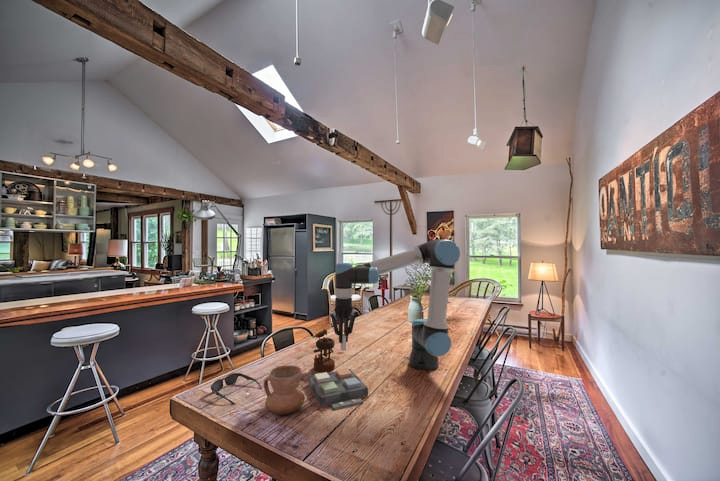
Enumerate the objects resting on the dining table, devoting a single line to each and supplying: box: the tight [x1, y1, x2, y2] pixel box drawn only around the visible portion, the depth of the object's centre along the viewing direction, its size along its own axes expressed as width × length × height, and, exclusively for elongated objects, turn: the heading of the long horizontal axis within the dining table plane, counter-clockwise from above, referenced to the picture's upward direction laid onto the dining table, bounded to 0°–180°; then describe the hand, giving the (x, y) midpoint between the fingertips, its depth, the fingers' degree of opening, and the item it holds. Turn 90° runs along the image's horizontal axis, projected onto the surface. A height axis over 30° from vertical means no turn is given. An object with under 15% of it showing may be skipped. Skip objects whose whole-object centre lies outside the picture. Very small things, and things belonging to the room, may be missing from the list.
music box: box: [311, 328, 336, 374], centre depth 150 cm, size 15×11×20 cm
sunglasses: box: [210, 372, 263, 406], centre depth 126 cm, size 16×17×5 cm
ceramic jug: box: [263, 365, 306, 416], centre depth 114 cm, size 18×14×14 cm
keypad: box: [307, 368, 369, 408], centre depth 127 cm, size 20×20×4 cm
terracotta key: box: [335, 367, 352, 379], centre depth 134 cm, size 6×6×2 cm
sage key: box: [321, 382, 338, 394], centre depth 121 cm, size 6×6×2 cm
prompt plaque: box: [330, 398, 364, 411], centre depth 116 cm, size 12×3×1 cm, turn 113°
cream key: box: [314, 372, 330, 383], centre depth 130 cm, size 6×6×2 cm
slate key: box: [344, 377, 361, 389], centre depth 125 cm, size 6×6×2 cm
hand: (343, 349), depth 134 cm, fingers closed
